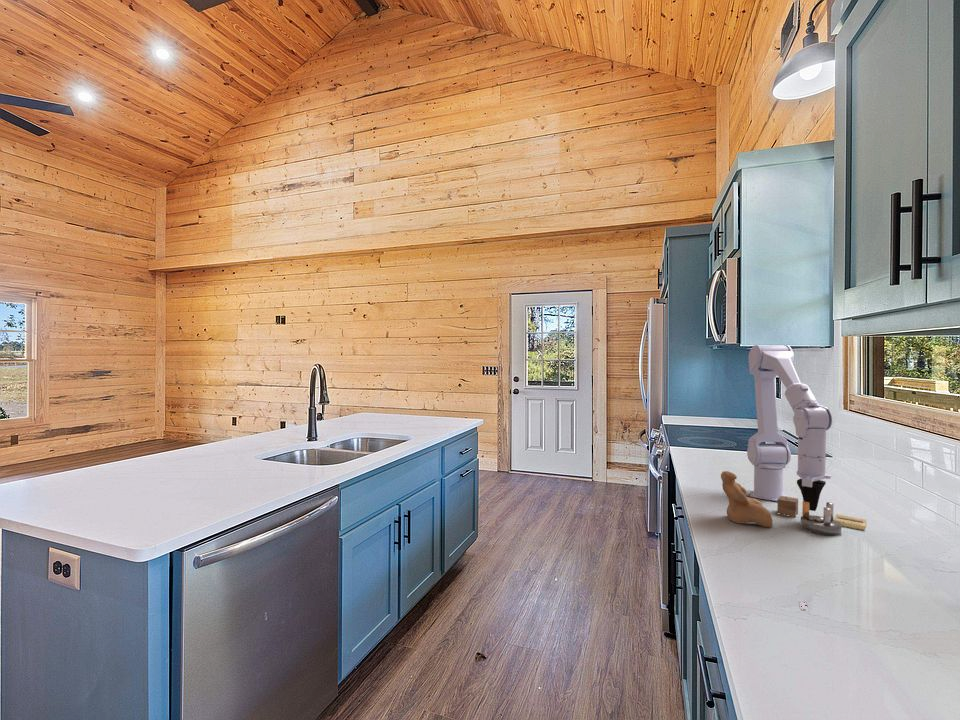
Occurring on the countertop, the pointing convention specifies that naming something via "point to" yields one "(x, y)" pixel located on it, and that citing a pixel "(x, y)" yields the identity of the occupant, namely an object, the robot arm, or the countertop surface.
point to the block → (788, 506)
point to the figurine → (743, 503)
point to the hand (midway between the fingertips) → (810, 509)
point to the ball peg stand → (820, 521)
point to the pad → (851, 522)
